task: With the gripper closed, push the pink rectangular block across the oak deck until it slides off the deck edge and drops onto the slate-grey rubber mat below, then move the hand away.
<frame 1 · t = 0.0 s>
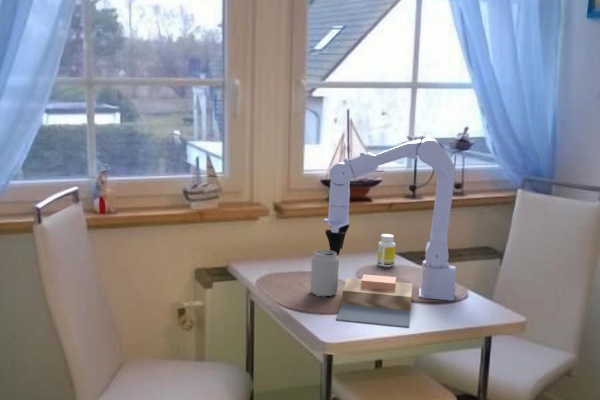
hand: (336, 251, 207), 10 cm above the table, tool pointing down, fingers open, 7 cm apart
deck: (377, 301, 197), on the table
supplement bottle: (385, 265, 233), on the table
can: (323, 294, 201), on the table
pink rectangular block: (378, 285, 197), point 4 cm above the table, touching deck
mat: (374, 315, 185), on the table
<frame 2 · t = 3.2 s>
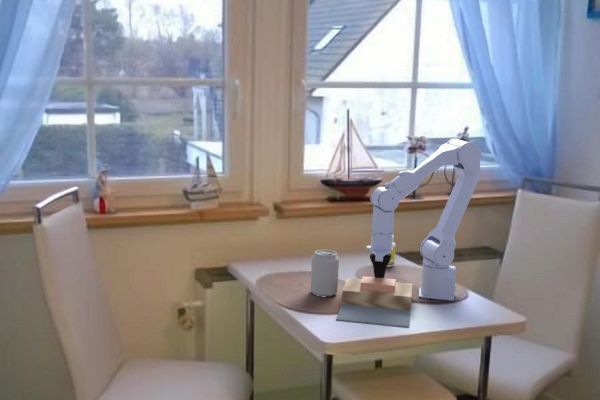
hand: (379, 280, 199), 5 cm above the table, tool pointing down, fingers closed
pink rectangular block: (378, 288, 195), point 4 cm above the table
everything else where it was.
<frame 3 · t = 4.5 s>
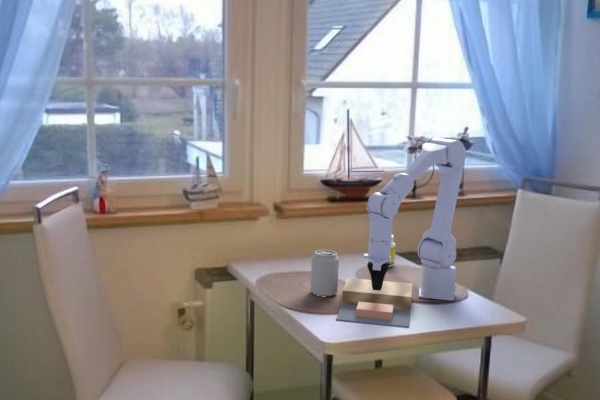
hand: (376, 289, 190), 5 cm above the table, tool pointing down, fingers closed
pink rectangular block: (375, 306, 185), point 2 cm above the table, tilted 180°, touching mat
everything else where it was.
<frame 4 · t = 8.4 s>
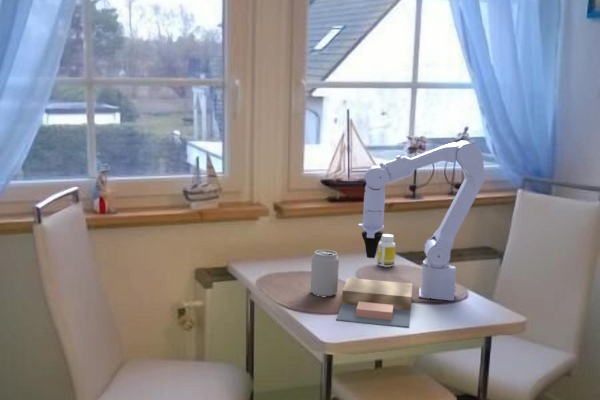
hand: (370, 257, 203), 10 cm above the table, tool pointing down, fingers closed
nothing on the table moved.
at the end: pink rectangular block point 2.3 cm above the table; pink rectangular block inside the target area on the mat (0.3 cm from its centre), point 2.3 cm above the mat's base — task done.
